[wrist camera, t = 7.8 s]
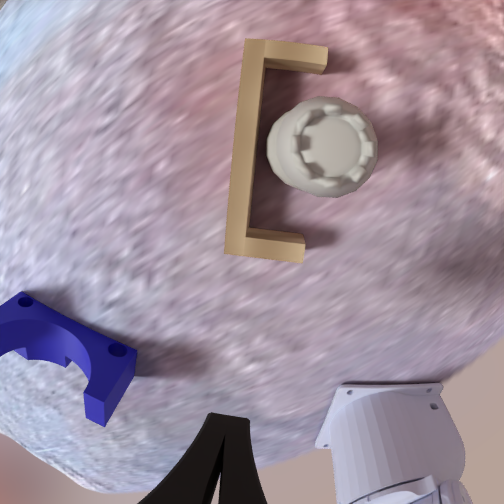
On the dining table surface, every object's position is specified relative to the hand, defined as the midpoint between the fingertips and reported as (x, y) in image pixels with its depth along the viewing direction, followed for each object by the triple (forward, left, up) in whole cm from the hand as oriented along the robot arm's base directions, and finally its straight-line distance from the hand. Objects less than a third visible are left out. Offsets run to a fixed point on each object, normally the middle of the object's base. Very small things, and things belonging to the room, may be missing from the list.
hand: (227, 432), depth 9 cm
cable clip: (+14, +6, -10) cm, 19 cm away
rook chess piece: (-2, -9, -10) cm, 14 cm away
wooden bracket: (0, -9, -10) cm, 14 cm away
